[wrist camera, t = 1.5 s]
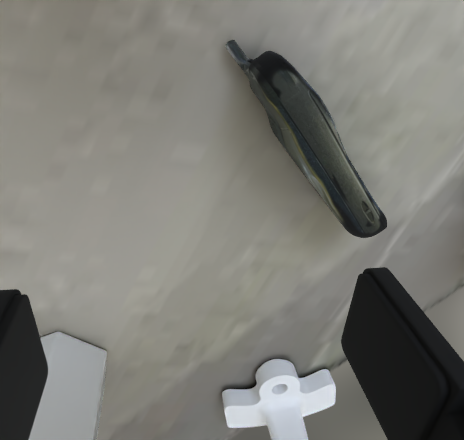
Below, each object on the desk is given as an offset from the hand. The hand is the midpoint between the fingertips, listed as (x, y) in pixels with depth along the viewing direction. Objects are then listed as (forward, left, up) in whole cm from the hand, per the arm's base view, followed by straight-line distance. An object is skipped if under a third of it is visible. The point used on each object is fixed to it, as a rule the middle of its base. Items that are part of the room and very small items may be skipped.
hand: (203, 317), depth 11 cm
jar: (+21, -11, -17) cm, 29 cm away
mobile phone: (0, +8, -17) cm, 18 cm away
